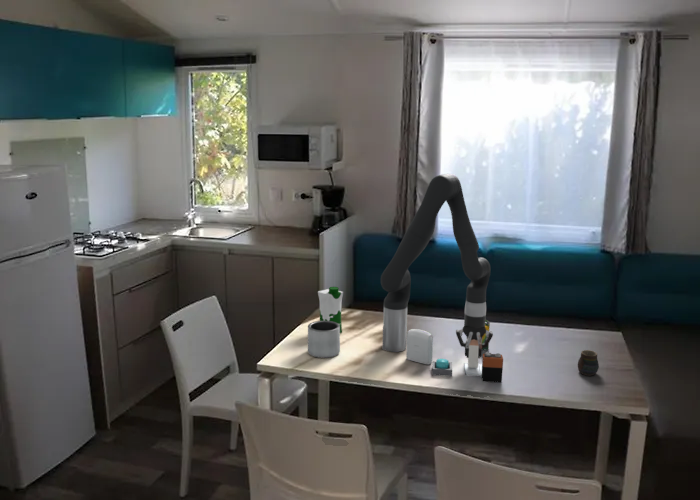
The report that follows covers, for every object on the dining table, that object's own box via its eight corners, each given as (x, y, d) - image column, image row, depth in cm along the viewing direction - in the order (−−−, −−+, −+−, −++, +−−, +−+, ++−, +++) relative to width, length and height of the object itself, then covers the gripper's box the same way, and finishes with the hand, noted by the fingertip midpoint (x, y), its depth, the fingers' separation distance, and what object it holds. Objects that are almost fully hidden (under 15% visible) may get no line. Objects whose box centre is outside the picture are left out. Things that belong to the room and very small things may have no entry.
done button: (436, 370, 239) (436, 362, 238) (436, 365, 243) (436, 358, 242) (448, 371, 238) (448, 363, 237) (448, 366, 242) (448, 358, 242)
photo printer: (404, 359, 252) (405, 328, 249) (410, 356, 255) (411, 325, 252) (428, 366, 246) (429, 334, 243) (433, 362, 249) (435, 331, 247)
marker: (468, 367, 241) (469, 339, 242) (467, 366, 244) (468, 339, 245) (477, 367, 240) (478, 340, 241) (477, 367, 244) (478, 339, 245)
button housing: (432, 375, 238) (432, 368, 237) (432, 367, 245) (432, 361, 244) (451, 376, 237) (452, 370, 236) (451, 368, 244) (451, 362, 243)
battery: (481, 376, 237) (482, 350, 234) (500, 378, 236) (502, 351, 234) (482, 382, 232) (483, 355, 230) (501, 383, 232) (503, 356, 229)
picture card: (465, 375, 238) (465, 373, 238) (463, 364, 248) (463, 362, 247) (499, 377, 236) (500, 375, 236) (497, 366, 246) (497, 364, 246)
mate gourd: (596, 370, 243) (599, 344, 241) (599, 378, 236) (602, 352, 234) (576, 368, 245) (578, 343, 242) (578, 376, 238) (580, 350, 235)
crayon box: (472, 344, 268) (473, 317, 265) (478, 343, 269) (479, 316, 266) (482, 350, 261) (483, 322, 259) (488, 349, 262) (490, 321, 260)
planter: (312, 345, 265) (312, 319, 262) (343, 348, 263) (343, 321, 260) (303, 357, 253) (303, 329, 250) (335, 360, 251) (336, 332, 248)
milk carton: (329, 337, 274) (329, 291, 269) (315, 331, 280) (315, 286, 276) (345, 332, 280) (345, 287, 275) (331, 327, 286) (331, 282, 282)
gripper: (455, 315, 237) (453, 360, 241) (496, 316, 235) (493, 362, 239) (455, 308, 244) (453, 352, 248) (494, 310, 242) (491, 354, 246)
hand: (473, 357), depth 243 cm, fingers closed on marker, 3 cm apart
